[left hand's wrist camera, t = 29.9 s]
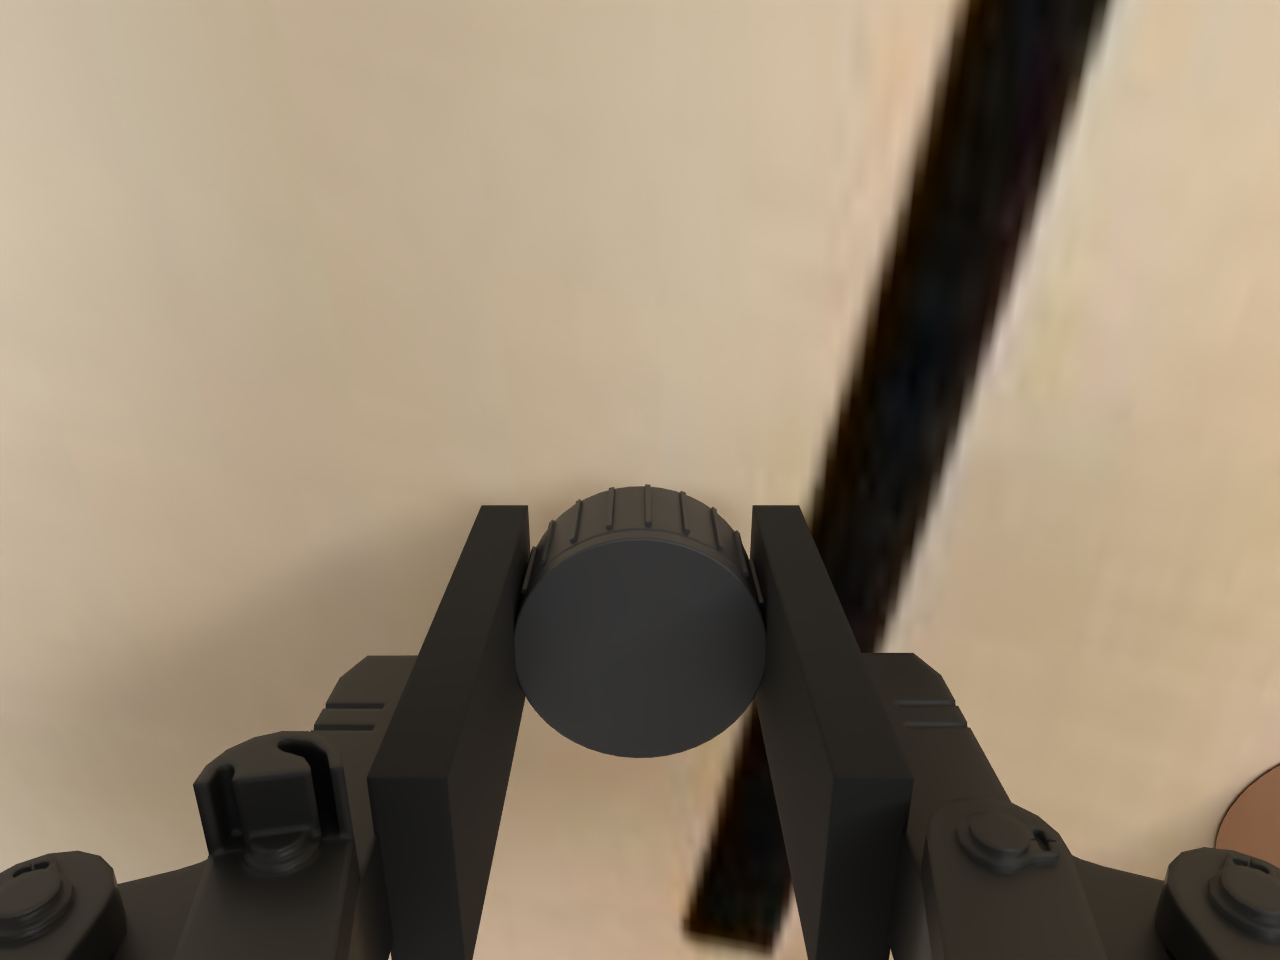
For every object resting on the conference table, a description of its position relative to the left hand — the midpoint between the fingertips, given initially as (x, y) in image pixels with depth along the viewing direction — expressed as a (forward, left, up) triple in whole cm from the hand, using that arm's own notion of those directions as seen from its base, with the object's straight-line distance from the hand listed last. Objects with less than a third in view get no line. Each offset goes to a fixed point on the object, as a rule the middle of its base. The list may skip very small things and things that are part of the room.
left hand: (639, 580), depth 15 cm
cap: (0, 0, +2) cm, 2 cm away
